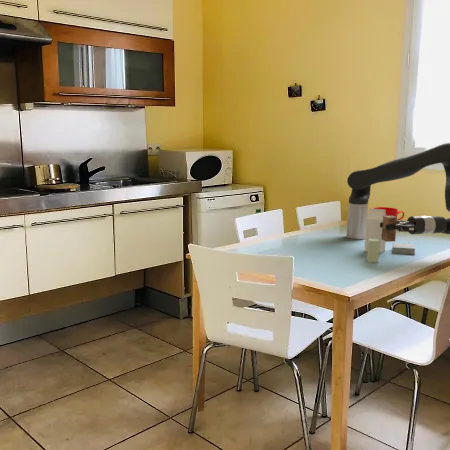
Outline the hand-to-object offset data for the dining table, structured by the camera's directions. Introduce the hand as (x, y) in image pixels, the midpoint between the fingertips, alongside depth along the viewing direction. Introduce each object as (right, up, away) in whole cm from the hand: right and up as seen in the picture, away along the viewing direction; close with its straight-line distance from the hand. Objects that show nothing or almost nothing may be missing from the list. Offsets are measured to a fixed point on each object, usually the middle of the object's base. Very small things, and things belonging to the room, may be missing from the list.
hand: (383, 226), depth 213 cm
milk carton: (+2, -11, +18) cm, 21 cm away
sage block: (-4, -14, +1) cm, 15 cm away
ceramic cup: (+24, -1, +72) cm, 76 cm away
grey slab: (+14, -12, +18) cm, 26 cm away
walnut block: (+3, -6, +2) cm, 7 cm away
